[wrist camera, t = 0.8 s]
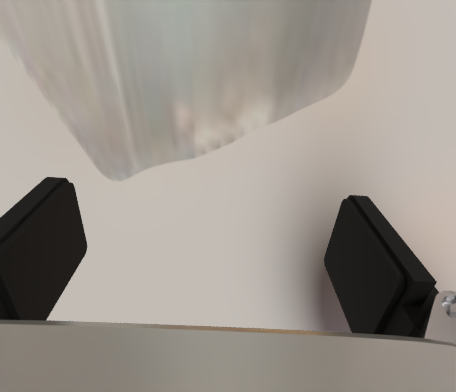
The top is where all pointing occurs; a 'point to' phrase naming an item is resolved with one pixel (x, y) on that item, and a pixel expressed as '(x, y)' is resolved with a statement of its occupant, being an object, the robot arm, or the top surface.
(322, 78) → the top surface
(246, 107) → the top surface
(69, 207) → the robot arm
